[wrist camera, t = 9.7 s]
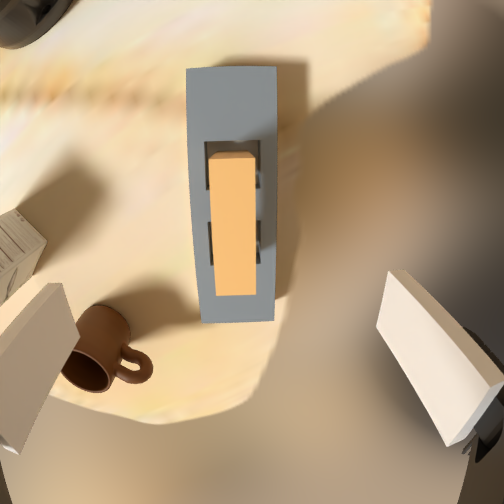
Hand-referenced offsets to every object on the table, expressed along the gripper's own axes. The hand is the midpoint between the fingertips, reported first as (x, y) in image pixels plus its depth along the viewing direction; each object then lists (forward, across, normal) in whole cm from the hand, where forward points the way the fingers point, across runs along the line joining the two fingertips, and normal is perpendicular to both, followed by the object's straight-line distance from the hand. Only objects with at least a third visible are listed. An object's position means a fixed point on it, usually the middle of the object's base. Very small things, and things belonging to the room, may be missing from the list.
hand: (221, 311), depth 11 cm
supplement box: (+22, -28, -4) cm, 36 cm away
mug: (+22, -16, -17) cm, 32 cm away
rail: (+22, +1, 0) cm, 22 cm away
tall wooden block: (+21, 0, 0) cm, 21 cm away
